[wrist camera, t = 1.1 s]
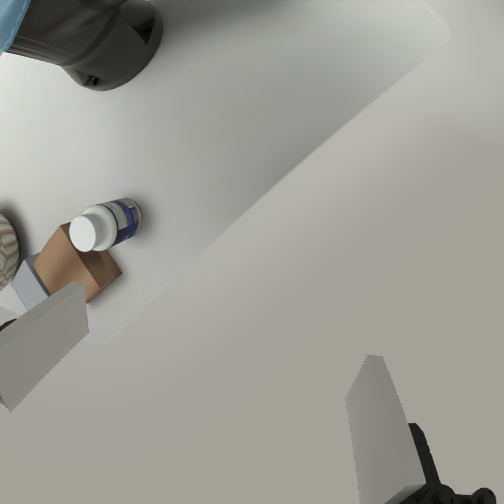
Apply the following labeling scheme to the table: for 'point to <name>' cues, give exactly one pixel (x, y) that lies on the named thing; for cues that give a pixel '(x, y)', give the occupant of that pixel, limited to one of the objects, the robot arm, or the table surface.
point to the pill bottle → (105, 225)
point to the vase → (7, 252)
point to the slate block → (29, 284)
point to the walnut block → (74, 265)
